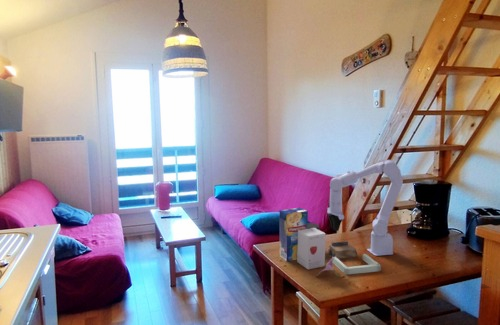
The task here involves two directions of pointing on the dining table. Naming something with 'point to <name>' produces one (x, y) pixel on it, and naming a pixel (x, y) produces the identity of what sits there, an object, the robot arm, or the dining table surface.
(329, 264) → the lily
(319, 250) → the supplement box
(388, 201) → the robot arm
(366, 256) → the bay
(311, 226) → the jar
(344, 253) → the cart
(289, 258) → the beverage box
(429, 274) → the dining table surface
